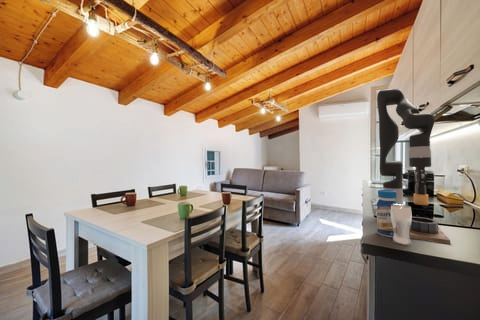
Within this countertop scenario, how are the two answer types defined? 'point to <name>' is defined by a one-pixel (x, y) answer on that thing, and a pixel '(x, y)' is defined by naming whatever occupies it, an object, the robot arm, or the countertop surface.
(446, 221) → the countertop surface
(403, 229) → the beer glass
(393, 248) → the countertop surface
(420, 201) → the orange rounded block
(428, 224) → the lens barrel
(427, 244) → the countertop surface
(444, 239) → the wooden cutting board
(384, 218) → the blue and white bottle
